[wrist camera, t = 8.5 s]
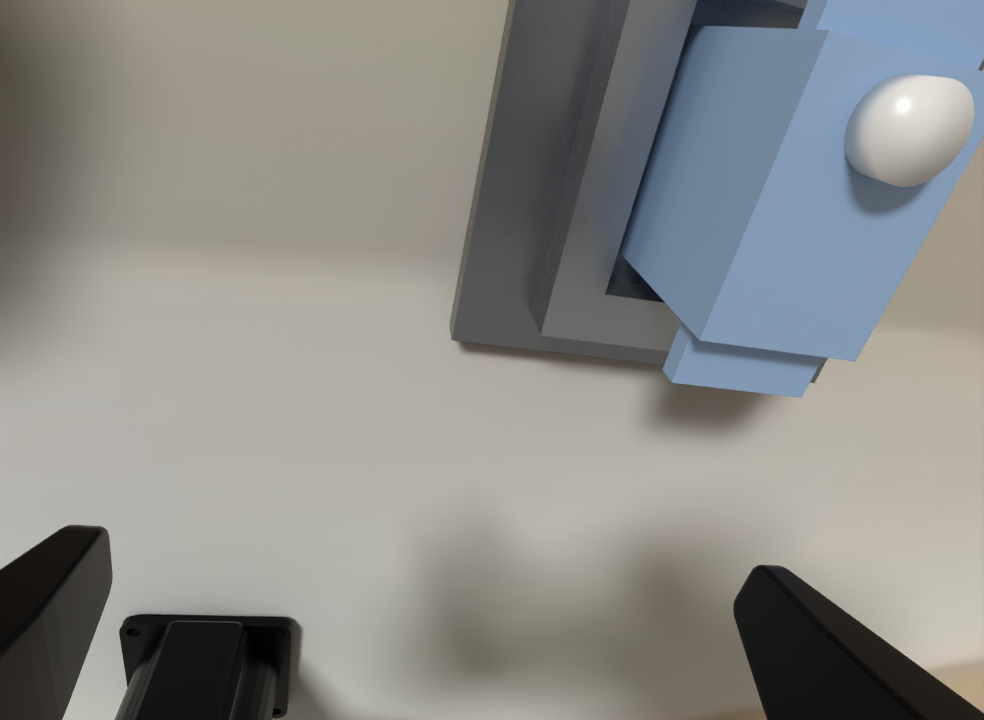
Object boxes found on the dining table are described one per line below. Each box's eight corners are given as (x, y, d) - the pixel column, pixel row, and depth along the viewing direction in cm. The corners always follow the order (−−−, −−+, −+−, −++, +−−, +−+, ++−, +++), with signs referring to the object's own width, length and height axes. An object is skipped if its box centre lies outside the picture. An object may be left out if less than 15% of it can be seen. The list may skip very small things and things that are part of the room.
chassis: (798, 368, 22) (841, 407, 20) (449, 325, 19) (454, 364, 17) (1013, -50, 16) (1109, -61, 14) (546, -200, 13) (574, -241, 11)
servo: (721, 316, 19) (846, 434, 14) (605, 299, 18) (690, 418, 13) (858, -5, 15) (1117, -17, 10) (716, -46, 14) (911, -84, 9)
